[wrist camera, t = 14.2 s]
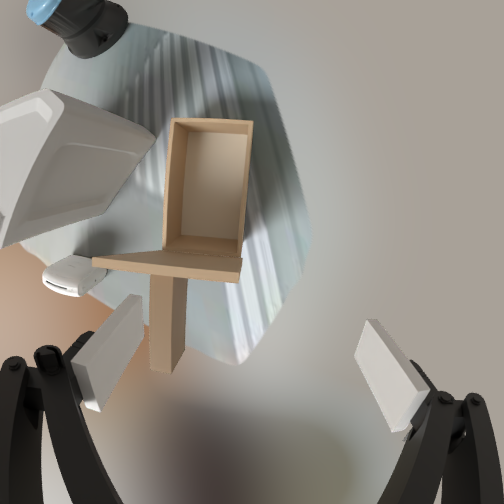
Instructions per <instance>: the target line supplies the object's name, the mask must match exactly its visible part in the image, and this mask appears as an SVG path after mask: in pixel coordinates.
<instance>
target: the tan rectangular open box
mask: <svg viewBox="0 0 504 504" xmlns="http://www.w3.org/2000/svg"><path fill="white" fill-rule="evenodd" d="M252 138H253V121H247V120H233V119H213V118H171V124H170V132H169V141H168V151H167V162H166V175H165V189H164V208H163V242H162V250H165V251H175V252H186V253H196V254H207V255H218V256H229V257H240V258H241V251H242V245H243V234H244V223H245V212H246V201H247V190H248V180H249V169H250V159H251V148H252Z"/></svg>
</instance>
